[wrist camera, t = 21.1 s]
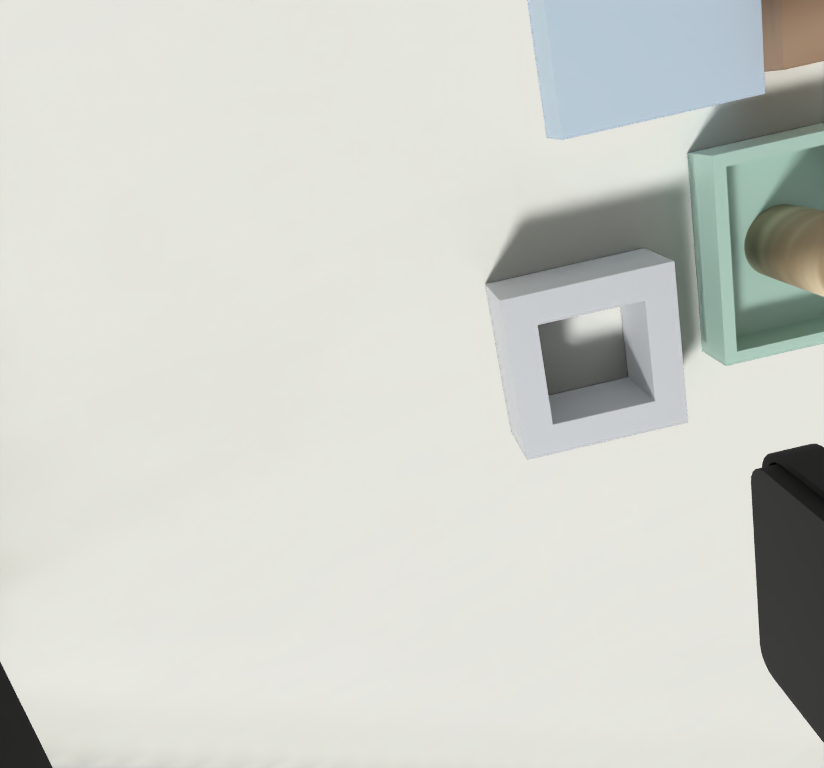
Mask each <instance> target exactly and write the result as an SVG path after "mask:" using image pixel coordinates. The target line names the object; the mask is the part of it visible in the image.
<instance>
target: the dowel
mask: <svg viewBox="0 0 824 768" xmlns="http://www.w3.org/2000/svg"><path fill="white" fill-rule="evenodd" d="M744 251H745V256H746V259H747V261H748V263H749V264H750V266H751V267H752V268H753V269H754V270H755V271H757V272H758V273H760V274H762V275H765V276H768V277H770V278H773V279H776V280H779V281H781V282H784V283H787V284H790V285H792V286H795V287H798V288H801V289H803V290H806V291H809V292H812V293H814V294H817V295H820V296H823V297H824V211H822V210H817V209H812V208H806V207H801V206H796V205H790V204H780V205H776V206H772V207H770V208H768V209H766V210H765V211H763V212H762V213H760V214H759V215H758V216H757V217H756V218H755V220H754V221H753V222H752V224H751V225H750V227H749V229H748V231H747V234H746V237H745V243H744Z"/></svg>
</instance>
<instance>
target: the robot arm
mask: <svg viewBox="0 0 824 768" xmlns="http://www.w3.org/2000/svg"><path fill="white" fill-rule="evenodd" d="M751 489H752V507H753V525H754V544H755V562H756V580H757V598H758V616H759V634H760V647H761V652H762V656H763V659H764V661H765V664H766V666H767V668H768V670H769V672H770V674H771V675H772V677H773V678H774V679H775V681H776V682H777V683H778V685H779V686H780V687H781V688H782V690H783V691H784V692H785V694H786V695H787V696H788V697H789V699H790V700H791V701H792V702H793V704H794V705H795V706H796V708H797V709H798V710H799V711H800V713H801V714H802V715H803V717H804V718H805V719H806V720H807V722H808V723H809V724H810V726H811V727H812V728H813V729H814V731H815V732H816V733H817V735H818V736H819V737H820V738H821V740H822V741H823V742H824V447H822V446H820V445H818V444H809V445H804V446H800V447H796V448H792V449H787V450H783V451H779V452H775V453H770V454H768V455H767V456H766V457H765V458H764V461H763V463H762V468H759V469H755V470H754V471H753V473H752V476H751ZM0 768H52V766H51V764H50V762H49V760H48V758H47V756H46V753H45V751H44V749H43V747H42V745H41V743H40V741H39V739H38V737H37V735H36V733H35V731H34V729H33V727H32V725H31V723H30V721H29V719H28V717H27V715H26V713H25V711H24V709H23V707H22V705H21V703H20V701H19V699H18V697H17V695H16V693H15V691H14V689H13V687H12V685H11V683H10V681H9V679H8V677H7V675H6V673H5V671H4V669H3V667H2V665H1V663H0Z"/></svg>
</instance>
